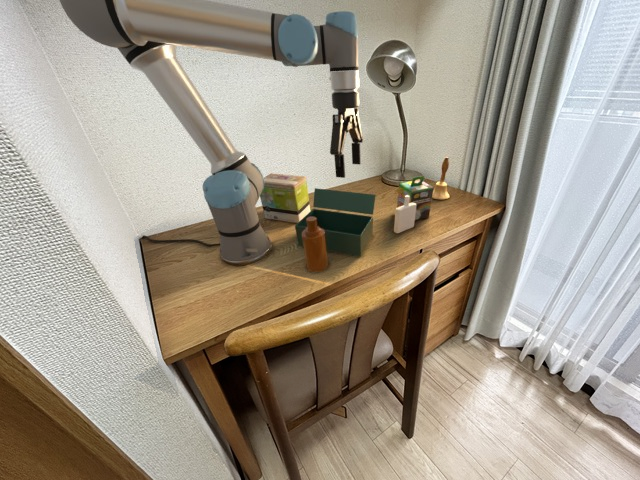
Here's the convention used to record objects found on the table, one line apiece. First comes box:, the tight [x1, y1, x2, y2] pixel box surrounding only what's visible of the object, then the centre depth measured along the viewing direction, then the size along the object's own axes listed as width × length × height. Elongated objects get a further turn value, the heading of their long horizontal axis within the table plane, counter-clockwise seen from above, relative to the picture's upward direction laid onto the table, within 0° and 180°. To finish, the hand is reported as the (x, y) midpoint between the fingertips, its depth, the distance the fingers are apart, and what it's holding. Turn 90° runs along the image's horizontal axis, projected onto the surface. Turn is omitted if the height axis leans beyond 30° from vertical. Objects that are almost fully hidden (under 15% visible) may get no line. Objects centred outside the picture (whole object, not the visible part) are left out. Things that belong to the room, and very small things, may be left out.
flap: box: [312, 187, 377, 216], centre depth 85 cm, size 21×6×1 cm
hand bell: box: [432, 156, 450, 201], centre depth 107 cm, size 8×8×16 cm
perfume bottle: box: [393, 195, 416, 234], centre depth 86 cm, size 8×2×12 cm, turn 124°
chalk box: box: [396, 175, 435, 221], centre depth 94 cm, size 9×9×15 cm
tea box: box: [259, 172, 311, 224], centre depth 97 cm, size 15×10×15 cm, turn 72°
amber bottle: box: [302, 217, 329, 273], centre depth 70 cm, size 6×6×15 cm
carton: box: [294, 208, 374, 257], centre depth 83 cm, size 21×13×7 cm, turn 70°
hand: (349, 170), depth 83 cm, fingers open, 13 cm apart
